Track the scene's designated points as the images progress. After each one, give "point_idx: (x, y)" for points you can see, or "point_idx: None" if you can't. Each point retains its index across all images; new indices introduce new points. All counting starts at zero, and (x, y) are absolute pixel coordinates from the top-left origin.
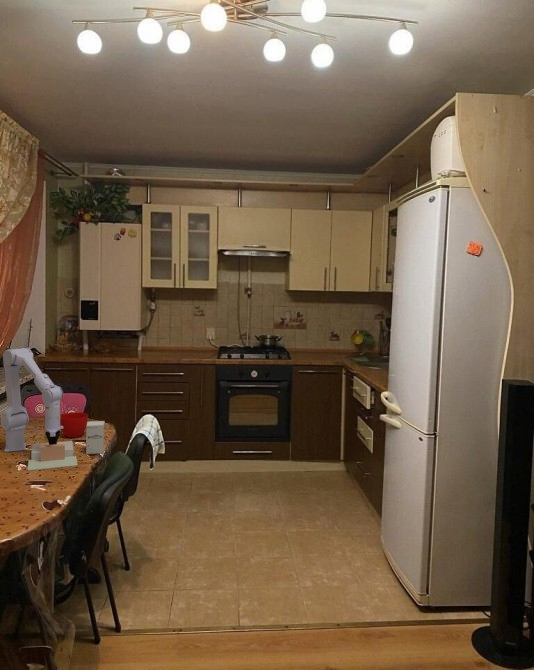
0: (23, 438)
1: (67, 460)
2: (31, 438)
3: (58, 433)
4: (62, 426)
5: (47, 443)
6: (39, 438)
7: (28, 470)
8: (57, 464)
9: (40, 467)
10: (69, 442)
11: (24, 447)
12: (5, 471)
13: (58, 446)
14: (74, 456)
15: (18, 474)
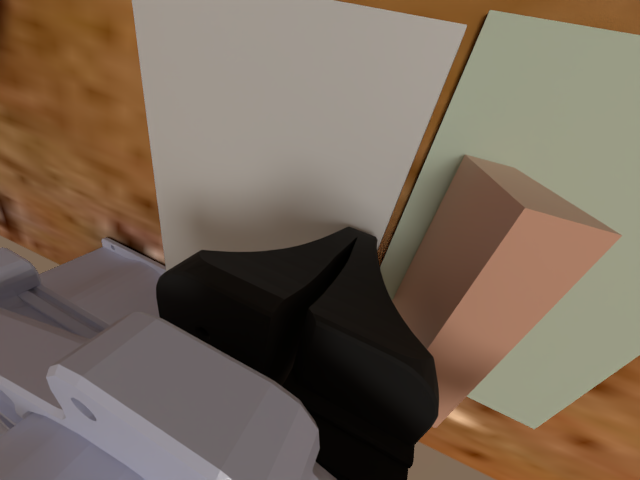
0: (110, 299)
1: (581, 156)
2: (35, 185)
3: (389, 390)
4: (135, 438)
5: (167, 201)
6: (30, 154)
7: (536, 421)
8: (621, 276)
9: (562, 377)
10: (170, 13)
11: (155, 268)
12: (443, 453)
13: (547, 309)
14: (501, 39)
15: (552, 465)
